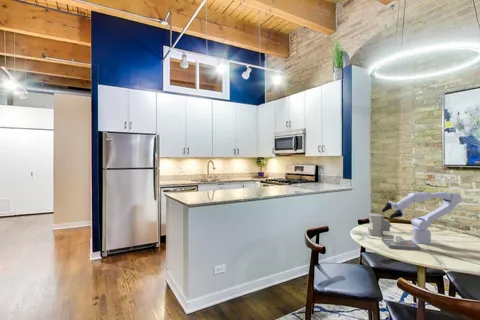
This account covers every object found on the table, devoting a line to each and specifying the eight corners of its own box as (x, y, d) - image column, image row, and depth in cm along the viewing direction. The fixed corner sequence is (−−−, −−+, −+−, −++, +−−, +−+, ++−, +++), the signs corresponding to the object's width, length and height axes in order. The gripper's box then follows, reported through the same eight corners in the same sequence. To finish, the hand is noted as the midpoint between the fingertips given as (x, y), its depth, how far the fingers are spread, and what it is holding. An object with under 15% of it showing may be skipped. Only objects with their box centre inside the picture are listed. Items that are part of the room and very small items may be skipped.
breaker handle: (398, 241, 171) (398, 234, 171) (400, 242, 168) (400, 235, 168) (393, 241, 172) (393, 234, 172) (395, 242, 169) (395, 235, 169)
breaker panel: (410, 243, 175) (410, 239, 175) (420, 250, 161) (420, 246, 161) (382, 241, 178) (382, 237, 178) (389, 248, 165) (389, 243, 165)
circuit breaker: (392, 236, 188) (392, 216, 188) (371, 235, 191) (371, 215, 191) (388, 233, 196) (388, 214, 195) (368, 232, 198) (368, 213, 198)
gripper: (394, 194, 183) (377, 204, 183) (410, 205, 170) (392, 216, 170) (396, 201, 186) (380, 211, 186) (412, 212, 173) (395, 223, 173)
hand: (386, 214), depth 178 cm, fingers open, 7 cm apart
